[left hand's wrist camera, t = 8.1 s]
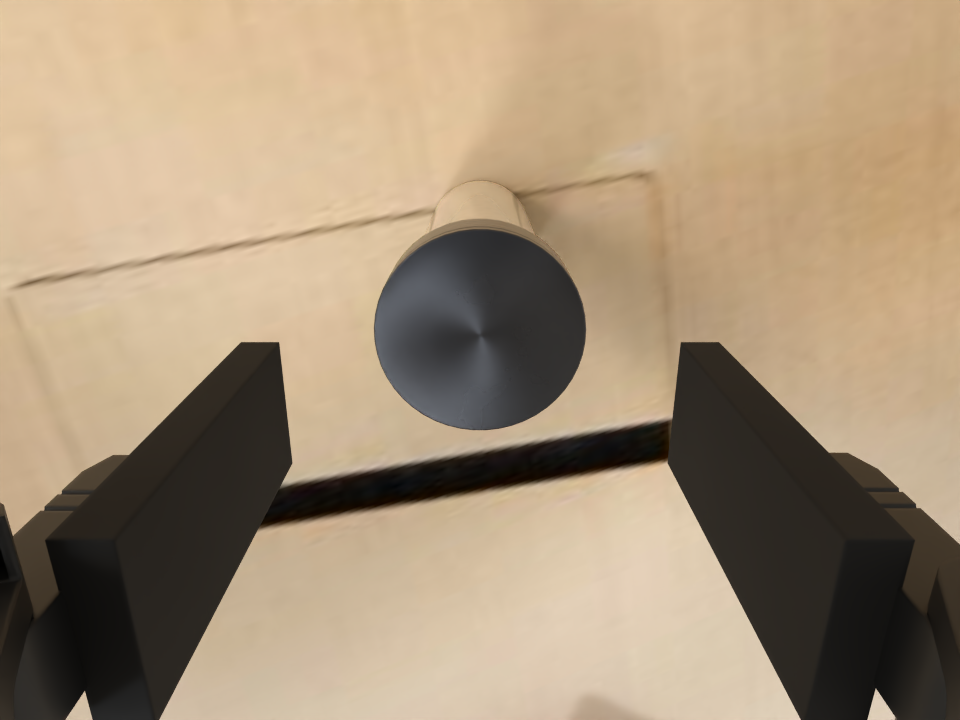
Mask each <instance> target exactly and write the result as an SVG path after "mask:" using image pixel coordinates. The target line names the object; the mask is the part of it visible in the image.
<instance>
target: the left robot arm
mask: <svg viewBox="0 0 960 720" xmlns="http://www.w3.org/2000/svg"><path fill="white" fill-rule="evenodd" d="M291 465H292V456H291V447H290V437H289V428H288V419H287V410H286V401H285V392H284V383H283V374H282V365H281V356H280V347H279V342H241V343H240V344H239V345H238V346H237V347H236V348H235V349H234V350H233V351H232V352H231V353H230V354H229V355H228V356H227V357H226V358H225V359H224V360H223V361H222V362H221V363H220V364H219V365H218V366H217V367H216V368H215V369H214V370H213V371H212V372H211V373H210V374H209V375H208V376H207V377H206V378H205V379H204V380H203V381H202V382H201V383H200V384H199V385H198V386H197V387H196V388H195V389H194V390H193V391H192V392H191V393H190V394H189V395H188V396H187V397H186V398H185V399H184V400H183V401H182V402H181V403H180V404H179V405H178V406H177V407H176V408H175V409H174V410H173V411H172V412H171V413H170V414H169V415H168V416H167V417H166V418H165V419H164V420H163V421H162V422H161V423H160V424H159V425H158V426H157V427H156V428H155V429H154V430H153V431H152V432H151V433H150V434H149V436H148V437H147V438H146V439H145V440H144V441H143V442H142V443H141V444H140V445H139V446H138V447H137V448H136V449H135V450H134V451H133V452H132V453H131V454H130V455H112V456H111V457H109V458H107V459H105V460H103V461H101V462H99V463H98V464H96V465H94V466H92V467H90V468H88V469H86V470H84V471H83V472H82V473H80V474H79V475H78V476H77V477H76V478H75V479H74V480H73V481H72V482H71V483H70V484H69V485H68V486H66V487H65V488H64V489H63V490H62V494H61V495H57V496H56V497H55V498H54V499H52V500H51V501H50V502H49V503H48V504H47V505H46V506H45V510H44V511H40V512H39V513H37V514H36V515H35V516H34V517H33V518H32V519H31V520H30V521H29V522H28V523H27V524H26V525H25V526H23V527H22V528H21V529H20V530H19V531H18V532H17V533H16V534H15V535H14V536H12V532H11V529H10V525H9V522H8V518H7V515H6V511H5V508H4V505H3V504H1V503H0V720H65V719H66V718H67V716H68V715H69V713H70V712H71V710H72V709H73V707H74V706H75V704H76V703H77V701H78V700H79V698H80V697H81V695H82V694H83V692H84V691H85V692H86V696H87V700H88V704H89V707H90V711H91V715H92V719H93V720H159V719H160V717H161V715H162V713H163V711H164V709H165V707H166V705H167V703H168V702H169V700H170V698H171V696H172V694H173V692H174V690H175V688H176V686H177V684H178V682H179V680H180V678H181V677H182V675H183V673H184V671H185V669H186V667H187V665H188V663H189V661H190V659H191V657H192V655H193V653H194V651H195V650H196V648H197V646H198V644H199V642H200V640H201V638H202V636H203V634H204V632H205V630H206V628H207V626H208V625H209V623H210V621H211V619H212V617H213V615H214V613H215V611H216V609H217V607H218V605H219V603H220V601H221V599H222V598H223V596H224V594H225V592H226V590H227V588H228V586H229V584H230V582H231V580H232V578H233V576H234V574H235V573H236V571H237V569H238V567H239V565H240V563H241V561H242V559H243V557H244V555H245V553H246V551H247V549H248V547H249V546H250V544H251V542H252V540H253V538H254V536H255V534H256V532H257V530H258V528H259V526H260V524H261V522H262V521H263V519H264V517H265V515H266V513H267V511H268V509H269V507H270V505H271V503H272V501H273V499H274V497H275V496H276V494H277V492H278V490H279V488H280V486H281V484H282V482H283V480H284V478H285V476H286V474H287V472H288V470H289V469H290V467H291ZM668 465H669V467H670V469H671V470H672V472H673V474H674V476H675V478H676V480H677V482H678V484H679V486H680V488H681V490H682V492H683V494H684V495H685V497H686V499H687V501H688V503H689V505H690V507H691V509H692V511H693V513H694V515H695V517H696V519H697V521H698V522H699V524H700V526H701V528H702V530H703V532H704V534H705V536H706V538H707V540H708V542H709V544H710V546H711V547H712V549H713V551H714V553H715V555H716V557H717V559H718V561H719V563H720V565H721V567H722V569H723V571H724V573H725V574H726V576H727V578H728V580H729V582H730V584H731V586H732V588H733V590H734V592H735V594H736V596H737V598H738V599H739V601H740V603H741V605H742V607H743V609H744V611H745V613H746V615H747V617H748V619H749V621H750V623H751V625H752V626H753V628H754V630H755V632H756V634H757V636H758V638H759V640H760V642H761V644H762V646H763V648H764V650H765V651H766V653H767V655H768V657H769V659H770V661H771V663H772V665H773V667H774V669H775V671H776V673H777V675H778V676H779V678H780V680H781V682H782V684H783V686H784V688H785V690H786V692H787V694H788V696H789V698H790V700H791V702H792V703H793V705H794V707H795V709H796V711H797V713H798V715H799V717H800V719H801V720H867V719H868V715H869V711H870V707H871V704H872V700H873V696H874V692H875V689H877V690H878V692H879V693H880V695H881V696H882V698H883V699H884V701H885V702H886V704H887V705H888V707H889V708H890V710H891V711H892V713H893V714H894V715H895V720H960V544H959V543H957V542H956V541H955V540H954V539H953V538H952V537H951V536H950V535H949V534H948V533H947V532H946V531H944V530H943V529H942V528H941V527H940V526H939V525H938V524H937V523H936V522H935V521H934V520H933V519H931V518H930V517H929V516H928V515H927V514H926V513H925V512H924V511H923V510H922V509H921V508H916V504H915V503H914V502H913V501H912V500H911V499H910V498H909V497H908V496H907V495H905V494H904V493H903V492H899V488H898V487H897V486H896V485H895V484H894V483H892V482H891V481H890V480H889V479H888V478H887V477H886V476H885V475H884V474H883V473H882V472H881V471H879V470H878V469H877V468H875V467H873V466H871V465H869V464H867V463H866V462H864V461H862V460H860V459H858V458H856V457H854V456H852V455H850V454H849V453H828V452H827V451H826V450H825V449H824V448H823V447H822V446H821V445H820V444H819V443H818V442H817V441H816V440H815V439H814V438H813V437H812V435H811V434H810V433H809V432H808V431H807V430H806V429H805V428H804V427H803V426H802V425H801V424H800V423H799V422H798V421H797V420H796V419H795V418H794V417H793V416H792V415H791V414H790V413H789V412H788V411H787V410H786V409H785V408H784V407H783V406H782V405H781V404H780V403H779V402H778V401H777V400H776V399H775V398H774V397H773V396H772V395H771V394H770V393H769V392H768V391H767V390H766V389H765V388H764V387H763V386H762V385H761V384H760V383H759V382H758V381H757V380H756V379H755V378H754V377H753V376H752V375H751V374H750V373H749V372H748V371H747V370H746V369H745V368H744V367H743V366H742V365H741V364H740V363H739V362H738V361H737V360H736V359H735V358H734V357H733V356H732V355H731V354H730V353H729V352H728V351H727V350H726V349H725V348H724V347H723V346H722V345H721V344H720V343H719V342H681V347H680V356H679V365H678V374H677V383H676V392H675V401H674V410H673V419H672V428H671V438H670V447H669V456H668Z"/></svg>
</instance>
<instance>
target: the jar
mask: <svg viewBox="0 0 960 720" xmlns="http://www.w3.org/2000/svg"><path fill="white" fill-rule="evenodd" d="M468 219H492V220H499V221H504V222H507V223H511V224H514V225H517V226H519V227H521V228H524V229H526V230H528V231H529V232H531V233H533V234H534V235H535V233H534V231H533V228H532V226H531V223H530V221H529V219H528V216H527V214H526V211H525V209H524V207H523V205H522V203H521V202H520V201H519V199H518V198H517V197H516V196H515V195H514V194H513V193H512V192H511V191H509V190H508V189H507V188H505V187H503V186H501V185H499V184H497V183H493V182H489V181H471V182H467V183H464V184H461V185H459V186H457V187H455V188H453V189H452V190H451V191H449V192H448V193H447V194H446V195H445V196H444V197H443V198H442V199H441V201H440V202H439V204H438V205H437V207H436V209H435V211H434V214H433V216H432V219H431V221H430V223H429V226H428V228H427V231H426V233H425V235H426V234H427V233H429V232H431V231H433V230H434V229H436V228H439V227H441V226H444V225H446V224H449V223H453V222H457V221H460V220H468Z"/></svg>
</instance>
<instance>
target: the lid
mask: <svg viewBox="0 0 960 720" xmlns="http://www.w3.org/2000/svg"><path fill="white" fill-rule="evenodd" d="M374 337H375V345H376V350H377V355H378V358H379V361H380V364H381V367H382V369H383V371H384V373H385V375H386V377H387V378H388V380H389V381H390V383H391V384H392V386H393V387H394V389H395V390H396V391H397V392H398V393H399V395H400V396H401V397H402V398H403V399H404V400H405V401H406V402H407V403H408V404H410V405H411V406H412V407H413V408H415V409H416V410H417V411H419V412H420V413H422V414H423V415H425V416H427V417H429V418H431V419H433V420H435V421H437V422H440V423H443V424H445V425H448V426H452V427H456V428H461V429H469V430H491V429H499V428H504V427H508V426H512V425H515V424H518V423H520V422H523V421H525V420H527V419H529V418H531V417H533V416H535V415H537V414H538V413H540V412H541V411H543V410H544V409H546V408H547V407H548V406H549V405H550V404H552V403H553V402H554V401H555V400H556V399H557V398H558V397H559V396H560V395H561V394H562V392H563V391H564V390H565V389H566V387H567V386H568V385H569V383H570V382H571V380H572V379H573V377H574V375H575V373H576V371H577V369H578V367H579V364H580V361H581V358H582V355H583V351H584V346H585V338H586V322H585V313H584V309H583V304H582V301H581V298H580V295H579V293H578V290H577V288H576V286H575V284H574V282H573V280H572V278H571V276H570V274H569V273H568V271H567V269H566V267H565V265H564V263H563V262H562V261H561V259H560V258H559V257H558V255H557V254H556V253H555V252H554V251H553V250H552V249H551V248H550V246H549V245H548V244H546V243H545V242H544V241H543V240H541V239H540V238H539V237H538V236H536V235H534V234H533V233H531V232H529V231H528V230H526V229H524V228H521V227H519V226H517V225H514V224H511V223H507V222H504V221H499V220H492V219H468V220H460V221H457V222H453V223H449V224H446V225H444V226H441V227H439V228H436V229H434V230H433V231H431V232H429V233H427V234H426V235H424V236H423V237H421V238H420V239H419V240H417V241H416V242H415V243H414V244H413V245H412V246H411V247H410V248H409V249H408V250H407V251H406V252H405V253H404V254H403V255H402V257H401V258H400V259H399V261H398V262H397V264H396V265H395V267H394V269H393V271H392V273H391V274H390V276H389V278H388V280H387V282H386V284H385V286H384V288H383V290H382V293H381V295H380V298H379V301H378V304H377V309H376V313H375V322H374Z"/></svg>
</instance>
